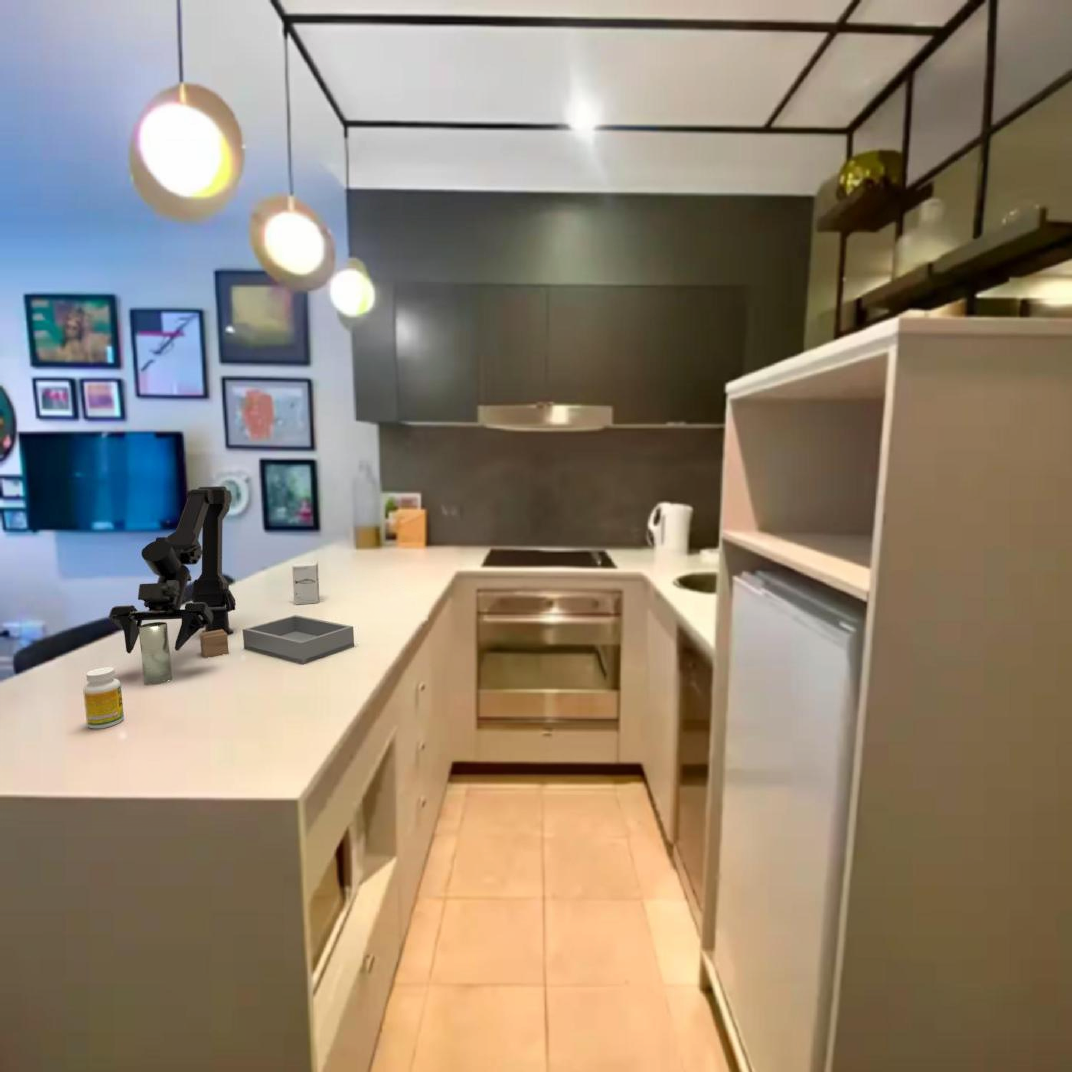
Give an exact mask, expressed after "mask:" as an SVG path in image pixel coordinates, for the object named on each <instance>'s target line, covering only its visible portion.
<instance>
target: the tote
mask: <svg viewBox="0 0 1072 1072" xmlns="http://www.w3.org/2000/svg"><path fill="white" fill-rule="evenodd" d="M354 631H355V630H354V626H352V625H349V624H342V623H337V622H332V621H326V620H323V619H316V618H312V617H307V616H302V615H297V614H295V615H291V616H287V617H284V618H280V619H276V620H272V621H268V622H264V623H261V624H256V625H253V626H250V627H246V628H242V637H243V639H242V640H243V649H244V650H246V651H249V652H253V653H257V654H262V655H264V656H265V655H266V656H269V657H272V658H276V659H281V660H284V661H288V662H293V663H296V664H300V665H305V664H308V663H312V662H313V661H318V660H319V659H322V658H325V657H328V656H330V655H333V654H336V653H339V652H342V651H344V650H345V651H346V650H348V649H351V648H353V647H355V634H354Z"/></svg>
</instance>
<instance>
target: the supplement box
mask: <svg viewBox="0 0 1072 1072" xmlns="http://www.w3.org/2000/svg"><path fill="white" fill-rule="evenodd" d="M291 567H292V583H293V584H292V587H293V603H294V604H293V605H294V606H296V605H307V604H309V605H310V604H319V602H320V601H319V600H320V585H319V584H320V581H319V580H320V579H319V562H318V561H302V562H294V563H293V565H292V566H291Z"/></svg>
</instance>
